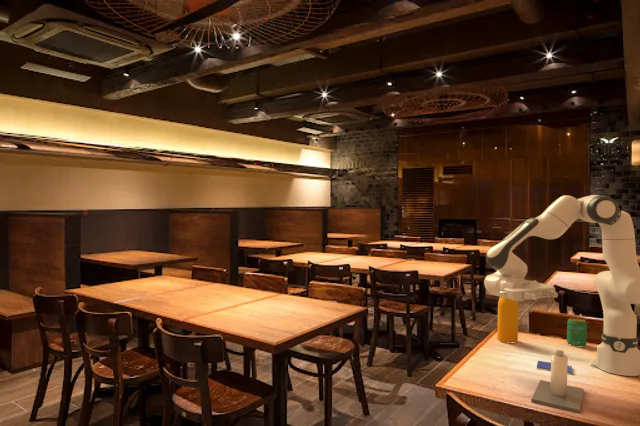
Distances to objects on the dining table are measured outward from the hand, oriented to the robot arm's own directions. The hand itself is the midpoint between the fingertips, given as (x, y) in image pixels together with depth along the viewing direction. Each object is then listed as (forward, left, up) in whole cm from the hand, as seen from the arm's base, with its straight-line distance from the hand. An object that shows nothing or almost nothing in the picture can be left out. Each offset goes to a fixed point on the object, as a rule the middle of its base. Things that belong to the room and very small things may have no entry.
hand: (546, 296), depth 166 cm
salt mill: (+9, +5, -31) cm, 33 cm away
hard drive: (-21, +1, -33) cm, 39 cm away
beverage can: (-62, +6, -33) cm, 71 cm away
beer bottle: (-50, -22, -33) cm, 63 cm away
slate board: (+8, +6, -32) cm, 34 cm away
